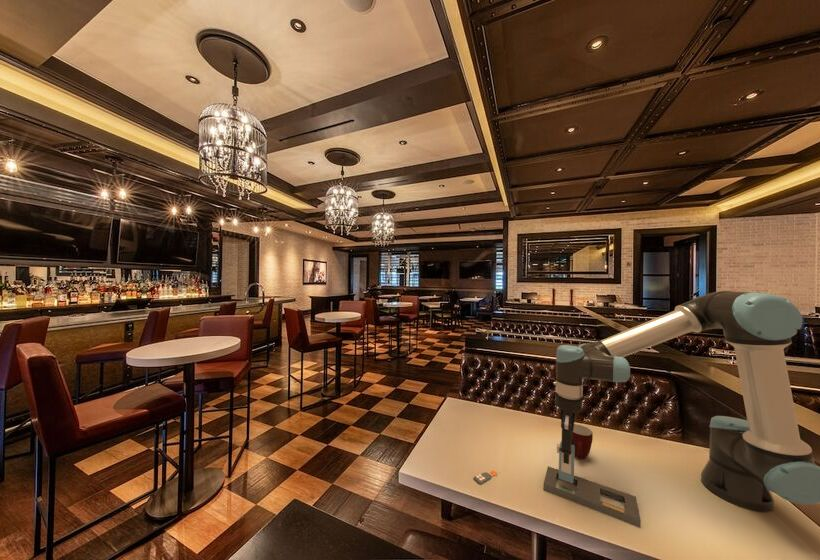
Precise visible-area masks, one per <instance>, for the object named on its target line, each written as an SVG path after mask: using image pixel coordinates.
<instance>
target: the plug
mask: <svg viewBox="0 0 820 560" xmlns="http://www.w3.org/2000/svg"><path fill="white" fill-rule="evenodd" d="M561 446H562V440H560V442H559V443H557V446H556V454H558V470H559V479H562V480H564V481H567V482H570V483H573V480H574V475H575V456H574V454H575V445H572V444H571V452H572V457H571V474H569V473H566V472H563V471H561V454H562V452H561V451H559V448H561ZM559 479H558V480H559ZM562 480H561V481H562ZM564 481H563V482H564ZM567 482H566V483H567ZM570 483H569V484H570Z"/></svg>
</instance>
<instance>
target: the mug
mask: <svg viewBox="0 0 820 560" xmlns="http://www.w3.org/2000/svg"><path fill="white" fill-rule="evenodd" d="M593 437H594V436H593V431H592V430H591V429H590V428H589V427H587V426H584V425H581V424H578V423H577V424H575V423H574V430H573V439H572V441H575V454H574V458H575V457H576V458H577V459H580V460H585V459H586V458H587V457H588V456H589V454H590V452H591V449H592V443H593V441H594V440H593ZM572 445H574V444H572Z"/></svg>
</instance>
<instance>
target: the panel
mask: <svg viewBox="0 0 820 560" xmlns="http://www.w3.org/2000/svg"><path fill="white" fill-rule="evenodd" d="M545 472H546V473H545V476H544V481H543V491H546V492H548V493H551V494H554V495H556V496H557V497H562V498H563V499H565V500H569V501H571V502H573V503H576V504H578V505H581V506H583V507H587V508H589V509H592V510H594V511H597V512H599V513H602V514H605V515H607V516H610V517H611V518H612V517H613V518H615V519H616V520H617V519H618V520H620V521H623V522H624V523H625V522H626V523H627V524H630V525H632V526H636V527H638V528H641V527H642V526H641V524H642V523H641V521H642V520H641V515H640V510H639V505H638V500H637V496H635V495H633V494H630V493H626V492H624V491H621V490H618V489H615V488H612V487H609V486H608V485H604V484H600V483H598V482H594V481H592V480H589V479H586V478H584V477H581V476H578V475H575V474H574V480H573V483H570V482H567V481H564V480H562V479H559V468H558V469H557V468H555V467H552V466H549V465H548V466H547V468H546V471H545ZM557 480H559V481H562V482H565V483H568V484H570V485H573V486H576V490H572V489H570V488H567V487H565V486H561V485H559V484H557ZM601 496H603V497H605V498H606V497H607V498H609V499H612V500H615V501H617V502H620V503H622V504H623V505H624V508H621V507H619V506H615V505H614V504H611V503H607V502H605V501H602V500H601Z"/></svg>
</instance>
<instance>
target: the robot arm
mask: <svg viewBox="0 0 820 560" xmlns="http://www.w3.org/2000/svg"><path fill="white" fill-rule="evenodd" d="M802 326H803V315H802V314H801V311H800V310H799V308H798V307H797V306H796V305H795V304H794V303H793V302H791V300H788V299H787V298H785V297H783V296H780V295H777V294H772V293H767V292H761V291H731V290H720V291H719V290H718V291H714V292H709V293H706V294H704V295H701V296H698V297H695V298H693V299H691V300H689V301H686V302H683V303H681V304H678V305H676V306H675V307H674V310H672V311H670V312H667V313H666V314H663V315H661V316H658V317H655V318H653V319H651V320H648V321H645V322H643V323H641V324H639V325H635V326H633V327H631V328H628V329H625V330H624V331H621V332H618V333H616V334H614V335H611V336H609V337H607V338H604V339H601V340H599V341H596V342H593V343H581V344H579V345H578V346H576V345H569V344H564V345H563V344H562V345H559V346H558V347H557V348H556V355H555V356H556V357H555V381H553V385H554V386H555V394H554V398H555V399H554V404H555V406H556V407H557V408H558V409H560V410H561V411H560V416H559V417H560V419H561V420H560V427H561V441H562V446H561V448H559V451H561V452H562V454H561V471H563V472H566V473H569V474H571V457H572V452H571V444H574V445H575V441H572V439H573V430H574V424H575V422H576V413H578V412H581V411H582V410H583V397H584V396H583V393H584V392H583V391H584V387H583V386H584V384H583V382H584V379H587V380H594V381H596V380H597V381H605V382H613V383H626V382H628V381H629V380H630V377H631V368H630V367H631V366H630V363H629V362H628V360H627V359H626V358H625V357H628V356H630V355H633V354H635V353H638V352H641V351H643V350H646V349H648V348H650V347H654V346H657V345H660V344H662V343H664V342H667V341H670V340H672V339H675V338H679V337H680V336H683V335H687V334H689V333H691V332H693V333H697V334H698V333H701V332H704V331H707V330H713V329H714V330H715V329H716V330H717V329H719V330H720V329H721V330H723V336H724V341H725V342H726V343H727V344H729V345H731V346H732V347H733V348H734V352H735V358H736V366H737V371H738V375H739V381H740V386H741V392H742V398H743V402H744V408H745V409H744V410H745V414H746V419H743V418H738V417H732V416H727V415H726V416H725V415H715V416H713V417H711V419H710V422H709V423H710V424H709V453H708V455H709V456H708V457H709V458H708V460H707V462H706V464H705V466H704V468H703V469H702V470H701V474H700V481H701V483H702V485H703V486H704V487H705V488H706V489H707V490H709V491H710V492H711V493H712V494H714V495H715V496H717V497H719V498H721V499H722V500H725V501H727V502H728V503H732V504H733V505H736V506H738V507H741V508H744V509H747V510H751V511H756V512H762V513H763V512H764V513H765V512H766V513H768V512H769V513H770V512H772V511H773V510H774V507H775V499H774V497H773V495H772V493H773V494H776V495H777V496H779V497H781V498H782V499H783V500H786V501H788V502H790V503H793V504H797V505H805V506H806V505H807V506H809V505H816V504H820V465H817V464H816V463H815V459H814V454H813V449H812V447H811V446H810V445H809V444H808V443H807V442H805V441H804V440H802V439H801V436H800V435H801V434H800V431H799V430H800V429H799V424H798V421H797V415H796V410H795V404H794V399H793V398H794V397H793V393H792V388H791V383H790V382H791V381H790V377H789V373H788V367H787V362H786V356H785V351H784V349H785V348H787V347H788V346H790V345H791V344H792V342H793V341H792V337H793V336H795V335H797V333H798V330H801V328H802Z"/></svg>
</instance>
